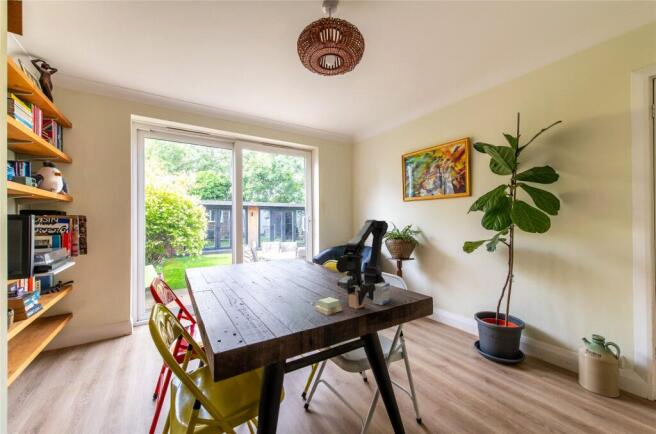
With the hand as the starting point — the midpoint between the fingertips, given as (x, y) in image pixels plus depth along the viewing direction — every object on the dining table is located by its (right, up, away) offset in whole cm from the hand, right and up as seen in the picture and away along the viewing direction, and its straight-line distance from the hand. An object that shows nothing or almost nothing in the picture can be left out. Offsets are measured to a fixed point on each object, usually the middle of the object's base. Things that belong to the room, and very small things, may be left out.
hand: (356, 304), depth 116 cm
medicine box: (+12, -1, +5) cm, 13 cm away
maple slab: (-12, -2, -4) cm, 13 cm away
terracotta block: (0, -1, 0) cm, 1 cm away
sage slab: (-12, 0, -4) cm, 13 cm away
